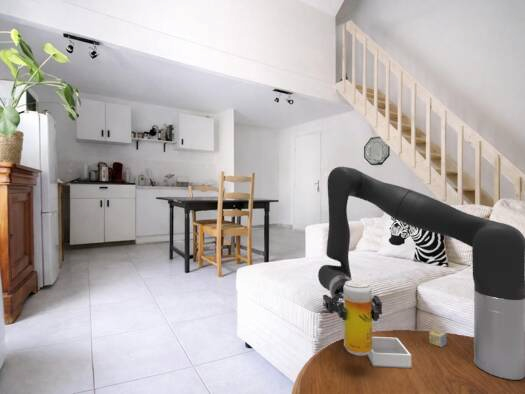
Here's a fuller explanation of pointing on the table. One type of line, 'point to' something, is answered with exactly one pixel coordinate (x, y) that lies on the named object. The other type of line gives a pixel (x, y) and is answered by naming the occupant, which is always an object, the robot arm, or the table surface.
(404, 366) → the white square tray
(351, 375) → the table surface
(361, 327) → the beer can
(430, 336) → the alphabet block
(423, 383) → the table surface
